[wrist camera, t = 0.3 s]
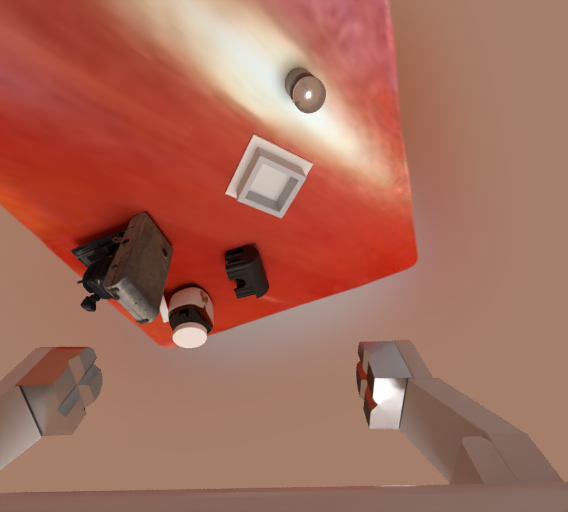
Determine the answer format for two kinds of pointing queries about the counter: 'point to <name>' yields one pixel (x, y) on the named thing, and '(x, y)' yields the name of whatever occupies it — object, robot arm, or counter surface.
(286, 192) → the open square tray
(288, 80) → the brown cylinder
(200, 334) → the spread jar
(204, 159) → the counter surface
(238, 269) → the end cap
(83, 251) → the vintage camera
